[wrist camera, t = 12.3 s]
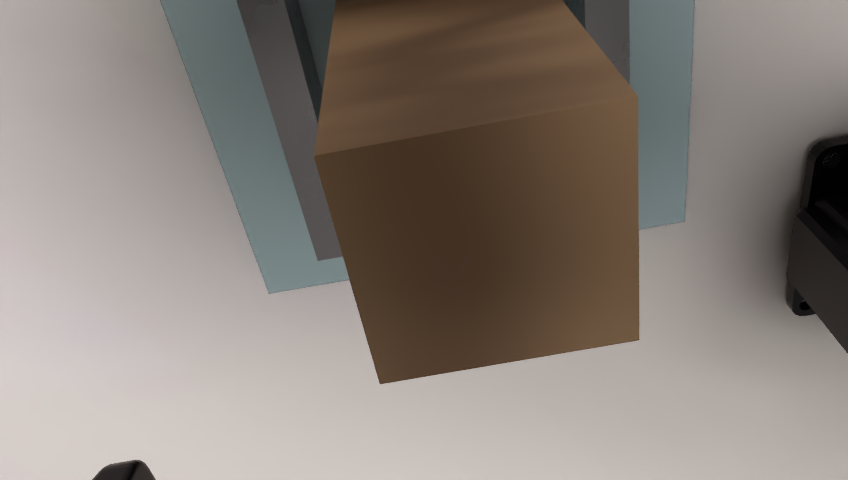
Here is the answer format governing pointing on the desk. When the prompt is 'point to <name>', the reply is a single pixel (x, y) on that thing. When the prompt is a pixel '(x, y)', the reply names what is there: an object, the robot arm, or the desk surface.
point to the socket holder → (301, 100)
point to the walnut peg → (479, 182)
